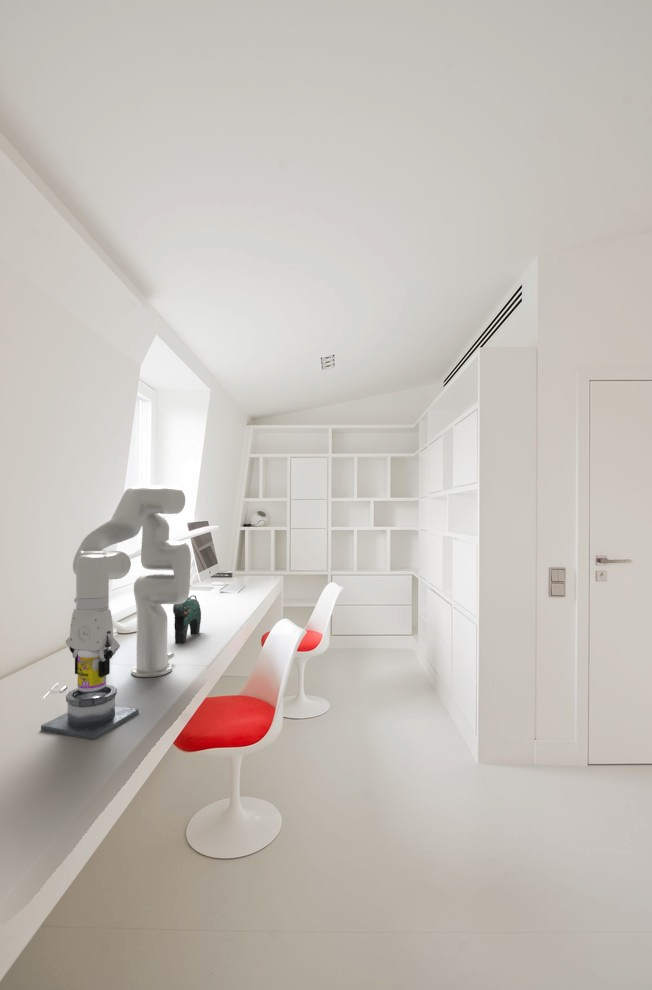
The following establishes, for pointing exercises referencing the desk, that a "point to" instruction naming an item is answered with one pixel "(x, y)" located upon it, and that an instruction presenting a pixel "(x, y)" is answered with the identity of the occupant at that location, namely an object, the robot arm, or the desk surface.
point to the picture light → (53, 688)
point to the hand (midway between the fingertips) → (92, 673)
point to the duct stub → (90, 714)
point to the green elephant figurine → (186, 619)
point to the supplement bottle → (89, 671)
